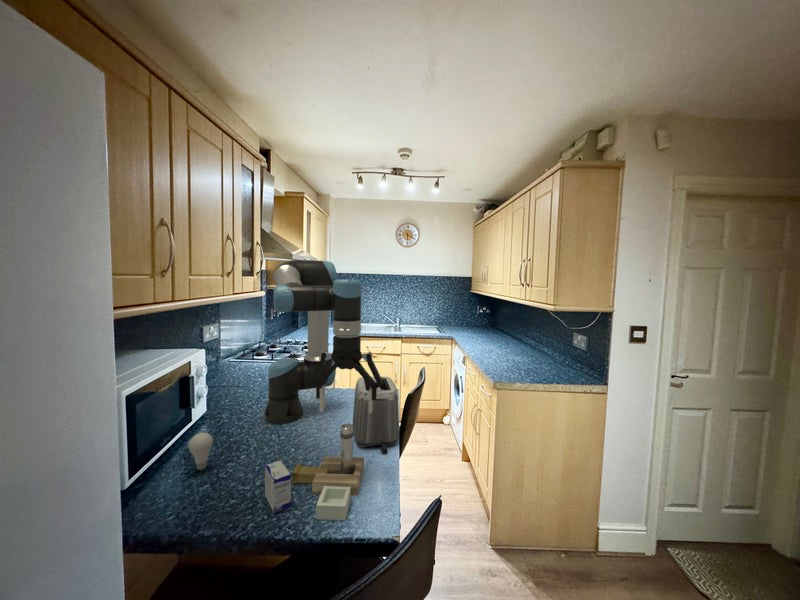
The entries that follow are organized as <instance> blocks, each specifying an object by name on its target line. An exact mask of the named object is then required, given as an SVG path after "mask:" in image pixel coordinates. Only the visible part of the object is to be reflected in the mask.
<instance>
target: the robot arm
mask: <svg viewBox="0 0 800 600" xmlns="http://www.w3.org/2000/svg"><path fill="white" fill-rule="evenodd" d="M272 280H273V283H274V285H275V286H274V288H273V309H274V311H276V312H283V313H284V312H285V313H294V312H299V313H300V312H307V353H306V354H305V355H304V356H303V361H300V360H299V358H296V357H287V358H282V359H279V360H276V361H274V362H272V363H270V364H269V367H268V374H267V378H268V400H267V403H266V406H265V410H264V411H263V412H264V413H263V420H264V421H265V422H266V423H268V424H271V425H284V424H289V423H293V422H295V421H298V420H299V419H301V418H302V417H303V415H304V408H303V405H302V403H301V400H300V396H299V391H303V390H310V389H311V390H312V389H315V391H316V393H315V397H316V399H318V400H319V412H320V413H323V411H324V410H325V408H326V388H327V387H331V386H333V383H334V382H335V379H336V373H337V372H336V371H337V368H338V369H340V370H346V369H347V370H353V369H354V370H355V371H356V372H357V373H358V374H359V375H360V376H361V378H362V377H363V378H364V380H365V381H366V382H367V383H368V384H369V386H370V388H369V413H372V409H373V400H376V397H377V388H379V387H382V386H383V380H382V378H381V377H382V376H381V374H380V373H379V370H378V368H377V366H376V364H375V362H374V360H373V352H371V351H368V352H367V353H362V350H361V346H362V345H361V341H362V340H361V339H362V338H361V335H360V334H362V331H361V330H362V329H361V328H362V323H361V322H362V319H361V318H362V314H361V313H362V292H363V291H362V285H361V281H360V280H359V279H341V278H340V279H339V278H338V275H337V270H336V267H335V265H334V263H333V262H332V261H327V260H311V259H310V260H309V259H307V260H306V259H302V260H301V259H292V260H288V261H284V262H283V263H281V264H278V265H277V266H276V267H275V269H274V271H273V273H272ZM331 311H332V312H333V313H332V314H333V318H332V334H333V337H332V352H329V334H330V333H329V330H330V328H329V325H330V324H329V323H330V321H329V320H330V319H329V318H330V317H329V316H330V312H331ZM362 359H363V360H364V362H366V363H367V366H368V368H369V369H370V370H369V371H370V372H371V374H372V376H371V374H369V372H368V371H367V370H366V369H365V368H364V366H363V365H362V363H361V360H362ZM372 377H374V378H375V380H376V382H375V381H374V380H373V379H372Z"/></svg>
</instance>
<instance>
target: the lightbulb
mask: <svg viewBox="0 0 800 600" xmlns="http://www.w3.org/2000/svg"><path fill="white" fill-rule="evenodd" d="M213 444H214V438H213V436H212V435H211V434H209V433H208V432H199V433H197V434H195V435H194V436H192V438H191V439H190V441H189V443H188V449H189V452H190V454H191V455H192V456H193V458H194V463H195V466H196V470H198V471H203V470H204V469H206V468H207V464H208V458H209V453H210V451H211V449H212V447H213Z"/></svg>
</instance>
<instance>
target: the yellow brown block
mask: <svg viewBox="0 0 800 600" xmlns="http://www.w3.org/2000/svg"><path fill="white" fill-rule="evenodd" d="M316 473H324V474H329V467H321V466H310V465H309V466H307V465H306V466H305V465H303V463H302V462H297V464H296V466H295V467H294V469H293V471H292V473H291V485H292V484H293V485H298V484H312V482H313V480H314V478H315V475H316Z"/></svg>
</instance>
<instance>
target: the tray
mask: <svg viewBox="0 0 800 600" xmlns="http://www.w3.org/2000/svg"><path fill="white" fill-rule="evenodd" d="M351 500H352V496H351V487H338V486H324V487H323V490H322V492H321V495H319V497H318V500H317V503H316V506H315V511H316V512H315V513H316V514H315V519H316V520H321V521H322V520H323V521H324V520H326V521H327V520H328V521H346V520H347V515H348V512H349V508H350V504H351Z"/></svg>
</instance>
